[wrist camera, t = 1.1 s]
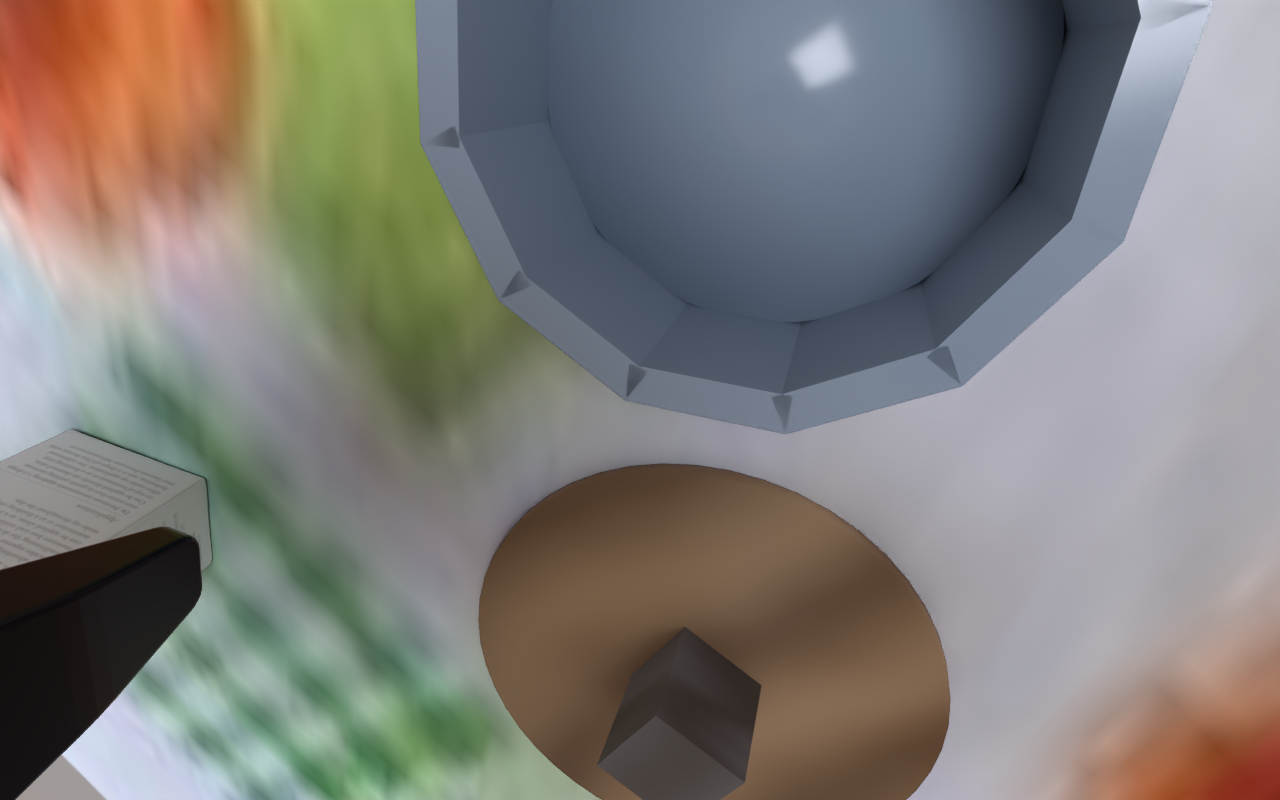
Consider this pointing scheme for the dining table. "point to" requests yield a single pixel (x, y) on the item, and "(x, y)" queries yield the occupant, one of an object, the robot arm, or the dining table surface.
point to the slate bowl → (794, 181)
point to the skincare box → (92, 498)
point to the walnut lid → (712, 643)
